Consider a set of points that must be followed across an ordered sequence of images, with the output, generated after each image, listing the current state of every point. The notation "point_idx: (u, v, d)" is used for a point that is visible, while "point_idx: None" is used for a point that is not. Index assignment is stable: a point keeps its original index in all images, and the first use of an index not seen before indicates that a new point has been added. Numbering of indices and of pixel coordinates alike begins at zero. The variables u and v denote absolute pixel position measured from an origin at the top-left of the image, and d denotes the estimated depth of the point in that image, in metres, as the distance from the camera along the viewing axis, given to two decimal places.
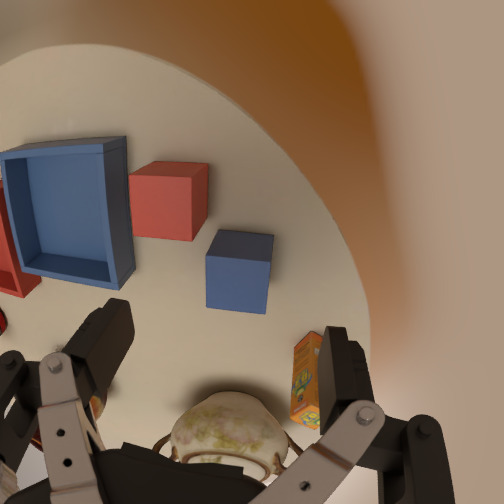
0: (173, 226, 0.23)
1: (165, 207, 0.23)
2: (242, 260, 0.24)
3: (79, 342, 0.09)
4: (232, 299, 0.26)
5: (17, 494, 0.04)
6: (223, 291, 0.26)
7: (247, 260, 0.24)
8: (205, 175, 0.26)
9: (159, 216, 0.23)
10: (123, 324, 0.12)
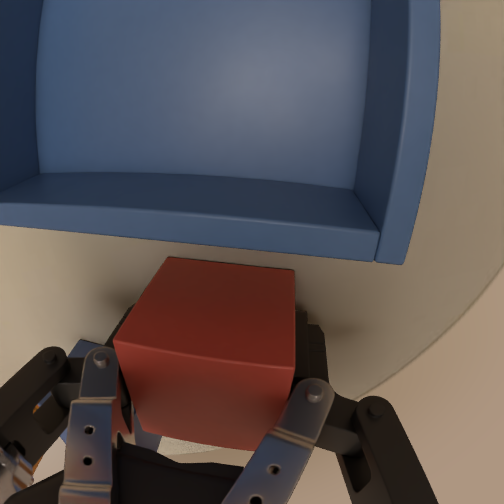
0: (164, 419, 0.09)
1: (207, 418, 0.09)
2: None
3: None
4: None
5: (17, 494, 0.04)
6: None
7: None
8: None
9: (182, 405, 0.09)
10: None
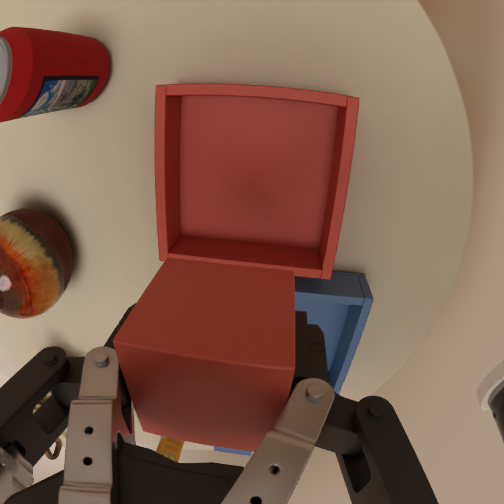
0: (164, 419, 0.09)
1: (207, 419, 0.09)
2: None
3: None
4: None
5: (17, 494, 0.04)
6: None
7: None
8: None
9: (182, 406, 0.09)
10: None
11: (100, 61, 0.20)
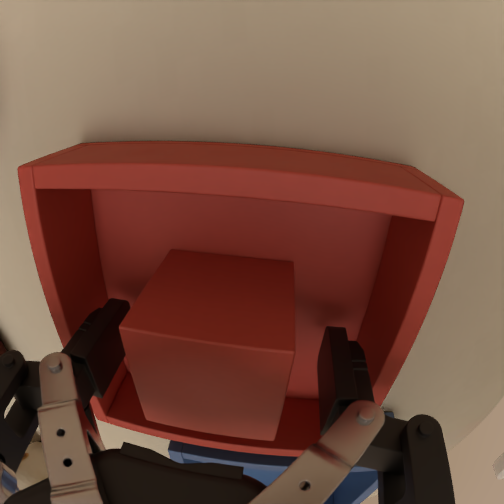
0: (167, 406, 0.10)
1: (209, 405, 0.10)
2: None
3: (79, 342, 0.09)
4: None
5: (17, 494, 0.04)
6: None
7: None
8: None
9: (185, 392, 0.09)
10: None
11: None
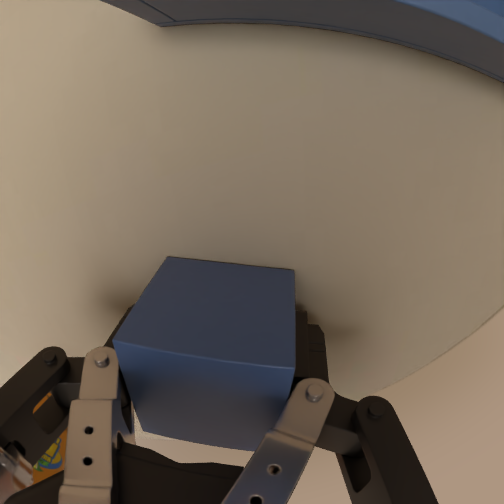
0: None
1: None
2: None
3: None
4: (160, 397, 0.09)
5: (17, 494, 0.04)
6: (178, 387, 0.08)
7: None
8: None
9: None
10: None
11: None
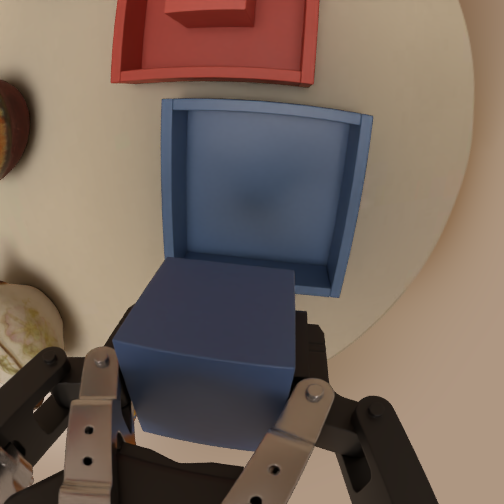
0: None
1: None
2: None
3: None
4: (160, 397, 0.09)
5: (17, 494, 0.04)
6: (178, 387, 0.08)
7: None
8: (240, 24, 0.18)
9: None
10: None
11: None
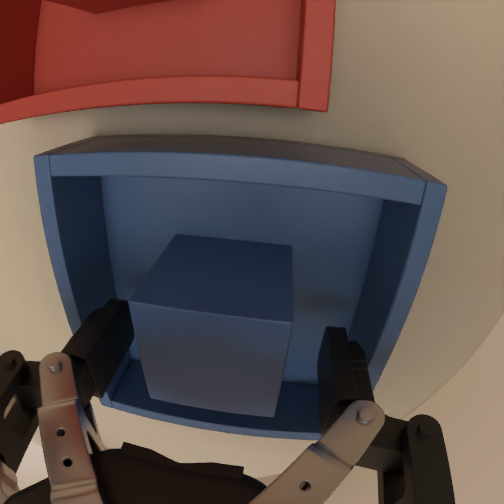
0: None
1: None
2: (276, 384, 0.10)
3: (79, 342, 0.09)
4: (170, 358, 0.10)
5: (17, 494, 0.04)
6: (187, 345, 0.10)
7: (277, 392, 0.10)
8: None
9: None
10: (123, 324, 0.12)
11: None
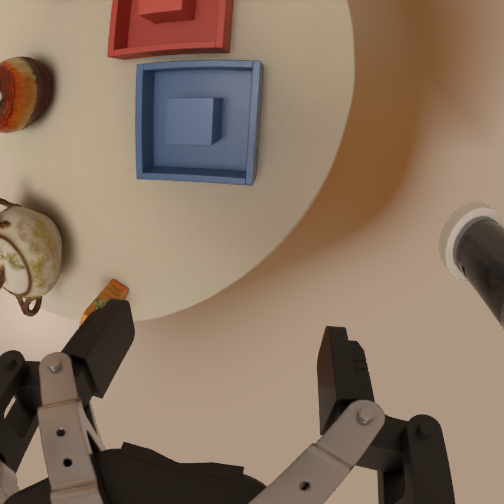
0: (147, 2, 0.24)
1: None
2: (210, 125, 0.30)
3: (79, 342, 0.09)
4: (176, 118, 0.30)
5: (17, 494, 0.04)
6: (182, 111, 0.30)
7: (211, 129, 0.30)
8: (185, 18, 0.28)
9: None
10: (123, 324, 0.12)
11: None
